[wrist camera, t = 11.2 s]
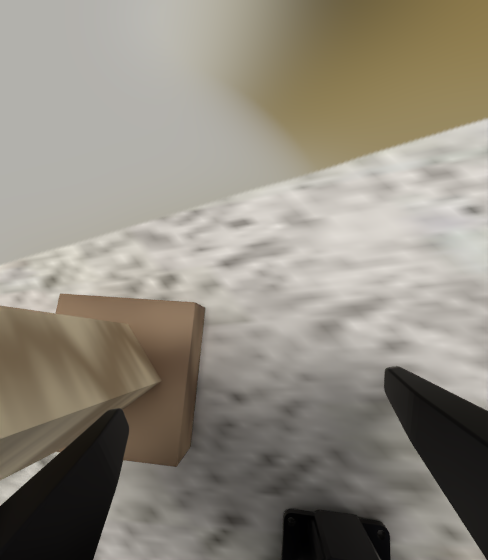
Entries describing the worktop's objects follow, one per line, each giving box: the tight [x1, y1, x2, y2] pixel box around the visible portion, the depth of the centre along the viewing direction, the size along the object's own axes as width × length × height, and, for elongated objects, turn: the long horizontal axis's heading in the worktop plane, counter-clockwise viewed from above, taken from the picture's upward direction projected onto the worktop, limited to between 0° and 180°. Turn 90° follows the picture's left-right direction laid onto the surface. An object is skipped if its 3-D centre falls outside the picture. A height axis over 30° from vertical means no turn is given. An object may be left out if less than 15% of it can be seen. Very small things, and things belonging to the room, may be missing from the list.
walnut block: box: [56, 294, 205, 467], centre depth 19 cm, size 10×10×4 cm
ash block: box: [0, 306, 162, 480], centre depth 12 cm, size 4×6×12 cm
